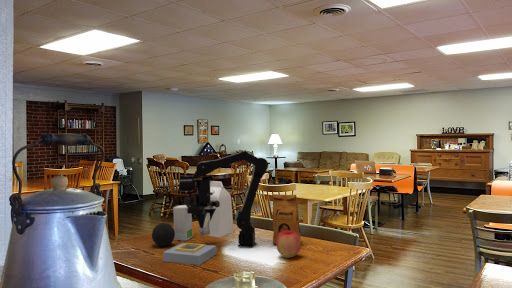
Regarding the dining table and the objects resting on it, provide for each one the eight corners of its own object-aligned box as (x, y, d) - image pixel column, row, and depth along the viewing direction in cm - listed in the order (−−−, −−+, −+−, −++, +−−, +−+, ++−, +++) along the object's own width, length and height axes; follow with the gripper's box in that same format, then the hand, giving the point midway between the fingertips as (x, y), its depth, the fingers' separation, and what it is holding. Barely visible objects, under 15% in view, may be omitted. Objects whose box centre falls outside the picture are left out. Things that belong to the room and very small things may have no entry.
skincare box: (186, 241, 177) (185, 207, 177) (173, 240, 178) (172, 207, 178) (193, 236, 185) (192, 204, 185) (180, 236, 186) (179, 204, 186)
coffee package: (297, 248, 161) (296, 196, 161) (270, 245, 166) (268, 195, 165) (303, 242, 170) (302, 193, 170) (277, 240, 175) (275, 192, 175)
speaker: (170, 241, 177) (169, 220, 177) (178, 246, 169) (177, 223, 168) (149, 245, 172) (148, 223, 172) (156, 250, 163) (155, 227, 163)
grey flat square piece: (216, 254, 155) (216, 243, 155) (199, 265, 142) (199, 253, 142) (182, 251, 161) (182, 240, 161) (163, 261, 148) (162, 249, 148)
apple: (272, 255, 152) (272, 230, 152) (294, 252, 155) (293, 227, 155) (282, 262, 143) (282, 235, 143) (305, 258, 146) (304, 233, 146)
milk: (233, 232, 192) (232, 180, 192) (219, 237, 182) (218, 183, 182) (214, 229, 199) (213, 179, 198) (200, 234, 189) (199, 182, 189)
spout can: (212, 232, 166) (211, 212, 166) (206, 235, 162) (206, 214, 161) (198, 231, 169) (197, 211, 168) (192, 234, 164) (192, 213, 164)
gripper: (198, 187, 176) (199, 221, 176) (175, 193, 159) (176, 230, 159) (219, 188, 172) (220, 222, 172) (199, 193, 155) (200, 232, 155)
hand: (204, 226), depth 165 cm, fingers closed on spout can, 5 cm apart
